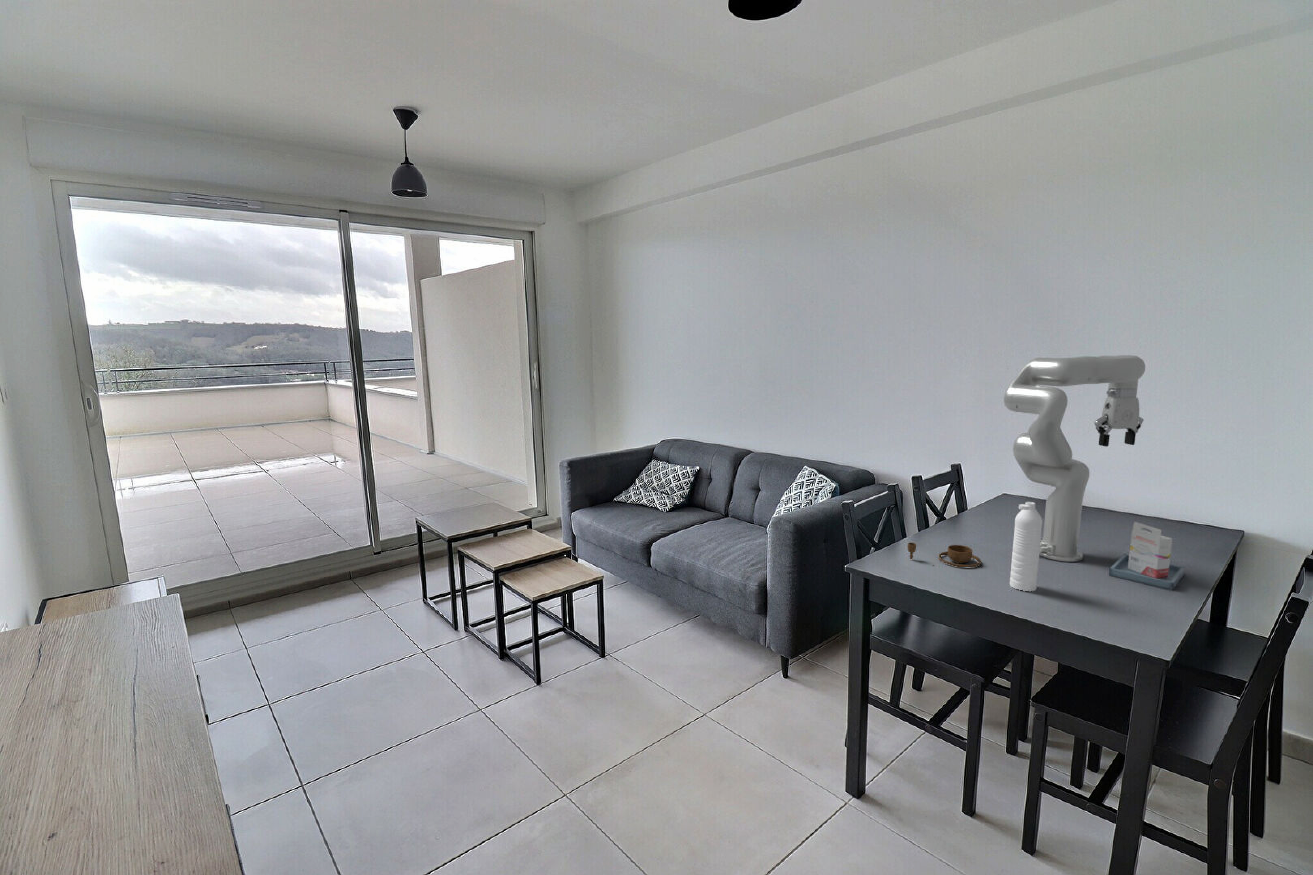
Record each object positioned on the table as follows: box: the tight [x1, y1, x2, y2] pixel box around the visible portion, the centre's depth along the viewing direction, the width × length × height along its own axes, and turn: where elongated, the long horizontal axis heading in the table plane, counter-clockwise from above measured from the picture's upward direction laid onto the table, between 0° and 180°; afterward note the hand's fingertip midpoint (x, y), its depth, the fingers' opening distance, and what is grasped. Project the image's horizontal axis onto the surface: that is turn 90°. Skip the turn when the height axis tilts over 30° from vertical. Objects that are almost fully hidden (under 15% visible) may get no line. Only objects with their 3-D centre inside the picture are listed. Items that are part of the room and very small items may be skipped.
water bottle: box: [1009, 501, 1043, 592], centre depth 170 cm, size 9×6×25 cm
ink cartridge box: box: [1128, 521, 1173, 578], centre depth 178 cm, size 9×5×15 cm, turn 14°
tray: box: [1108, 554, 1186, 591], centre depth 179 cm, size 17×15×2 cm
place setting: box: [907, 542, 982, 568], centre depth 194 cm, size 18×20×6 cm
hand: (1116, 445), depth 202 cm, fingers open, 9 cm apart
